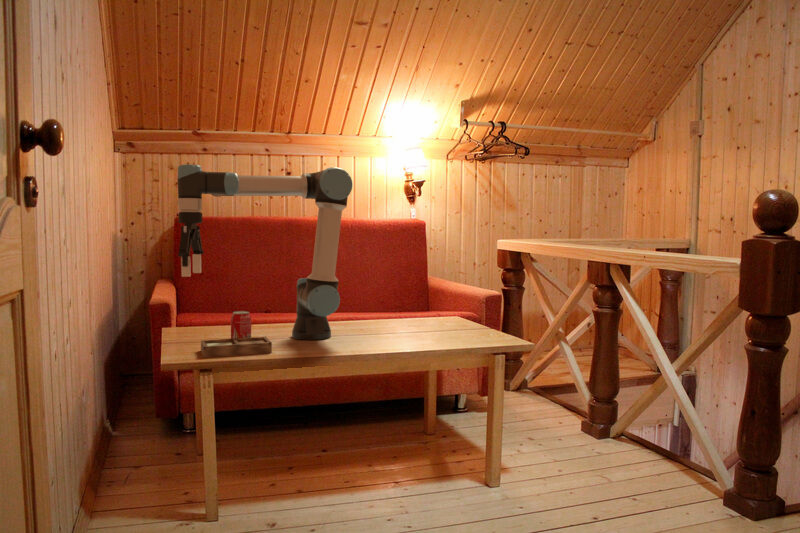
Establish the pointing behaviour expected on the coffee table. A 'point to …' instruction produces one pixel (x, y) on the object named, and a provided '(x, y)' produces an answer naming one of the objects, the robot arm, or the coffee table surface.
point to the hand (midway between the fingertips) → (191, 274)
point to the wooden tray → (235, 346)
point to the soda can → (241, 325)
